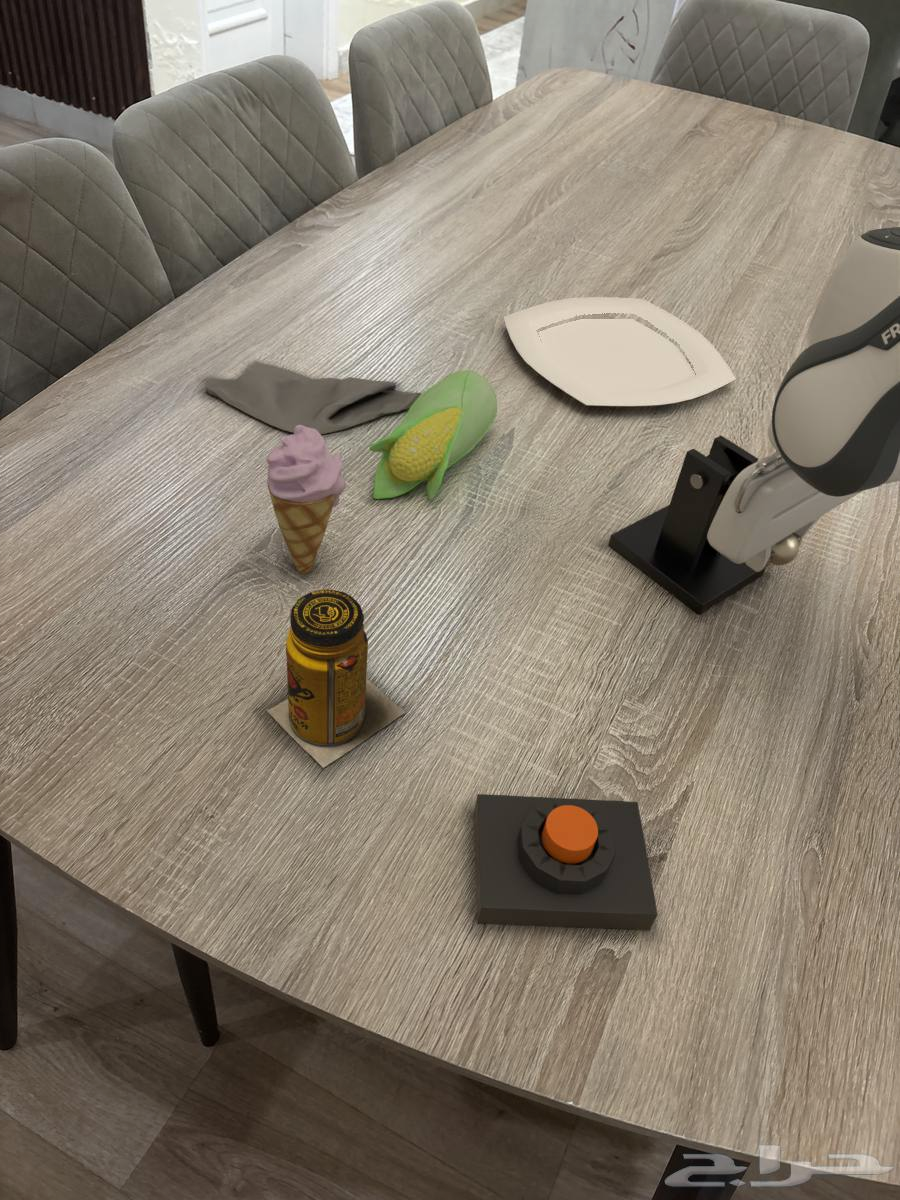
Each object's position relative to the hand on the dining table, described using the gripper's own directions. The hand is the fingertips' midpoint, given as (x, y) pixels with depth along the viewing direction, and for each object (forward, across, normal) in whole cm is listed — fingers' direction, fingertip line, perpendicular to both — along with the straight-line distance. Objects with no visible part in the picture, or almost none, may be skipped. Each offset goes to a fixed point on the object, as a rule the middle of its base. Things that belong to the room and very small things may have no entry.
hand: (771, 556), depth 85 cm
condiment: (+7, -40, +12) cm, 42 cm away
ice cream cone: (+7, -32, +27) cm, 43 cm away
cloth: (+7, -16, +50) cm, 53 cm away
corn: (+7, -11, +35) cm, 37 cm away
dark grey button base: (+6, -34, -9) cm, 36 cm away
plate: (+7, +23, +40) cm, 46 cm away
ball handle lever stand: (+6, 0, +8) cm, 10 cm away
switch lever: (-1, 0, +4) cm, 4 cm away
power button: (+3, -35, -9) cm, 36 cm away
